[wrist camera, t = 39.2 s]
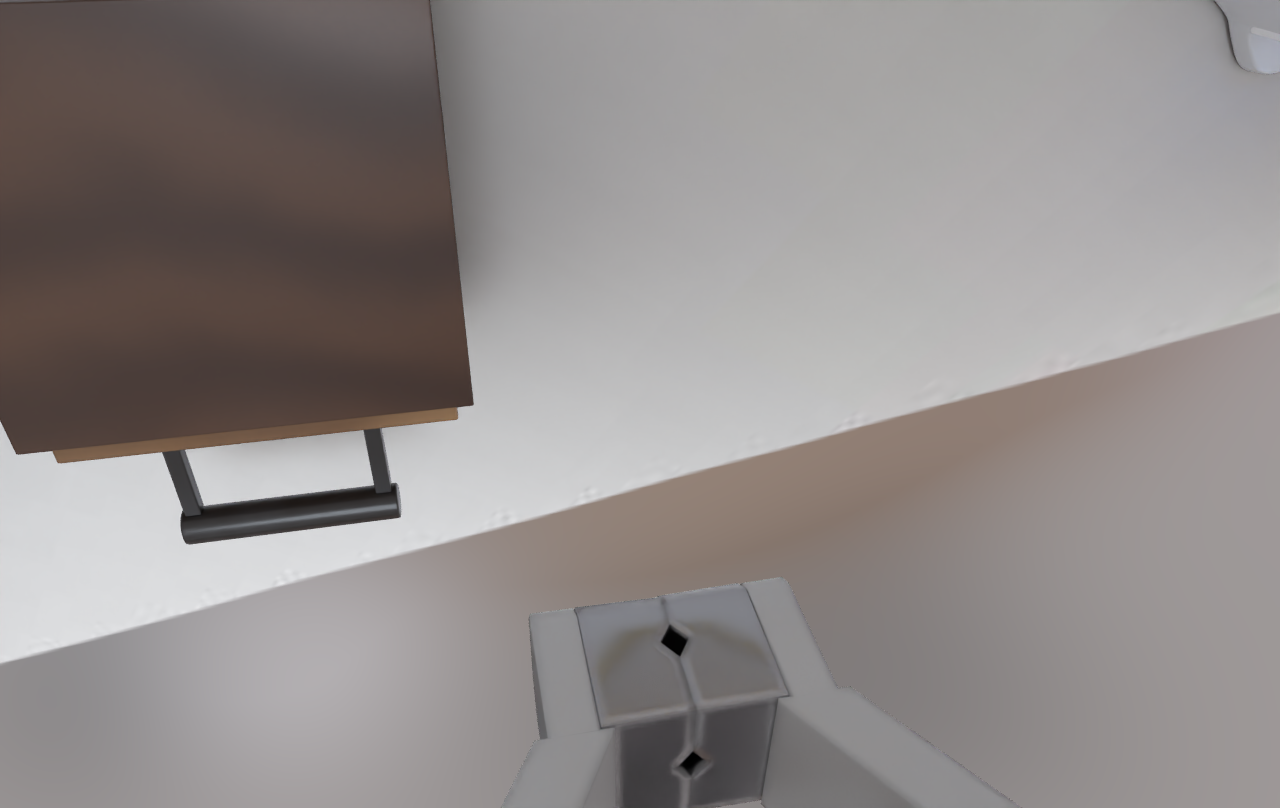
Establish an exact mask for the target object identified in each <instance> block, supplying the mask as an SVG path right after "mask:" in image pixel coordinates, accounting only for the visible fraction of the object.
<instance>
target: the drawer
mask: <svg viewBox="0 0 1280 808" xmlns="http://www.w3.org/2000/svg"><path fill="white" fill-rule="evenodd" d="M456 419H458V411H457V407H454V408H445V409H436V410H426V411H417V412H408V413H398V414H389V415H380V416H371V417H361V418H352V419H343V420H334V421H324V422H315V423H306V424H297V425H287V426H278V427H269V428H260V429H250V430H241V431H232V432H223V433H213V434H204V435H195V436H185V437H176V438H167V439H158V440H148V441H139V442H130V443H121V444H111V445H102V446H93V447H84V448H74V449H65V450H56V451H53V454H54V456H55V458H56V460H57V462H58V463H68V462H77V461H86V460H95V459H104V458H113V457H122V456H131V455H140V454H149V453H158V452H162V453H163V456H164V458H165V461H166V464H167V467H168V469H169V472H170V475H171V478H172V481H173V483H174V486H175V489H176V492H177V494H178V497H179V500H180V503H181V506H182V508H183V511H182V514H181V533H182V536H183V539H184V541H185V543H186V544H197V543H205V542H213V541H221V540H229V539H236V538H244V537H252V536H260V535H268V534H276V533H284V532H291V531H299V530H307V529H315V528H323V527H331V526H339V525H346V524H354V523H362V522H370V521H378V520H386V519H394V518H399V517H401V500H400V492H399V487H398V484H397V483H391V477H390V471H389V466H388V460H387V455H386V450H385V444H384V439H383V433H382V428H385V427H394V426H403V425H412V424H421V423H430V422H439V421H448V420H456ZM358 430H364V435H365V440H366V446H367V451H368V456H369V461H370V466H371V471H372V476H373V481H374V485H373V486H365V487H357V488H348V489H340V490H332V491H323V492H315V493H307V494H299V495H290V496H282V497H274V498H265V499H257V500H249V501H241V502H232V503H224V504H216V505H207V506H203V505H204V504H203V502H202V499H201V496H200V493H199V490H198V487H197V484H196V481H195V478H194V475H193V472H192V469H191V466H190V464H189V461H188V458H187V455H186V452H185V450H186V449H195V448H204V447H213V446H222V445H231V444H240V443H249V442H258V441H267V440H276V439H285V438H294V437H303V436H312V435H322V434H331V433H340V432H349V431H358Z"/></svg>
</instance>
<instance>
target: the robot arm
mask: <svg viewBox="0 0 1280 808" xmlns="http://www.w3.org/2000/svg"><path fill="white" fill-rule="evenodd" d="M1214 1H1215V2H1216V3H1217V4H1218V5H1219V6H1220V8H1221V9H1222V10H1223V12H1224V13H1225V15H1226V17H1227V19H1228V24H1229V30H1230V36H1231V42H1232V47H1233V51H1234V55H1235V57H1236V60H1237V62H1238V64H1239V65H1240V66H1241V67H1242V68H1243V69H1245V70H1248V71H1252V72H1256V73H1260V74H1274V73H1278V72H1280V0H1214ZM529 627H530V641H531V655H532V669H533V681H534V692H535V702H536V713H537V722H538V729H539V736H540V740H538V741H534V743H533V745H532V747H531V749H530V751H529V753H528V755H527V757H526V759H525V761H524V763H523V765H522V767H521V769H520V771H519V773H518V775H517V777H516V779H515V781H514V783H513V784H512V786H511V788H510V790H509V792H508V794H507V796H506V798H505V800H504V802H503V804H502V806H501V808H715V807H721V806H727V805H733V804H739V803H746V802H752V801H758V800H761V804H762V805H763V806H764V807H765V808H1022V807H1020V806H1019V805H1017V804H1016V803H1015V802H1013V801H1012V800H1010V799H1009V798H1007V797H1006V796H1005V795H1003V794H1002V793H1000V792H999V791H998V790H996V789H995V788H993V787H992V786H991V785H989V784H988V783H986V782H985V781H983V780H982V779H981V778H979V777H977V776H976V775H975V774H974V773H972V772H971V771H969V770H968V769H967V768H965V767H964V766H962V765H961V764H959V763H958V762H956V761H955V760H954V759H952V758H951V757H950V756H948V755H947V754H945V753H944V752H942V751H941V750H940V749H938V748H937V747H935V746H934V745H933V744H931V743H930V742H928V741H927V740H925V739H924V738H923V737H921V736H920V735H918V734H917V733H916V732H914V731H913V730H911V729H910V728H908V727H907V726H905V725H904V724H903V723H901V722H900V721H898V720H897V719H895V718H894V717H893V716H891V715H890V714H889V713H887V712H886V711H884V710H883V709H882V708H880V707H879V706H877V705H876V704H875V703H873V702H872V701H870V700H869V699H867V698H866V697H865V696H863V695H862V694H860V693H859V692H858V691H856V690H855V689H853V688H852V687H844V688H838V687H837V685H836V682H835V680H834V678H833V676H832V674H831V672H830V670H829V668H828V665H827V663H826V661H825V659H824V657H823V655H822V653H821V651H820V648H819V646H818V644H817V642H816V640H815V638H814V636H813V634H812V632H811V629H810V627H809V625H808V623H807V621H806V619H805V617H804V614H803V613H802V610H801V608H800V606H799V604H798V602H797V599H796V597H795V595H794V593H793V591H792V589H791V587H790V585H789V583H788V582H787V581H786V580H785V579H784V578H782V577H780V578H773V579H766V580H760V581H753V582H746V583H742V584H740V585H739V584H737V583H736V584H730V585H724V586H718V587H711V588H705V589H699V590H693V591H687V592H681V593H674V594H668V595H662V596H658V597H657V598H649V599H641V600H633V601H624V602H616V603H609V604H601V605H592V606H585V607H576V608H575V609H574V610H573V609H564V610H557V611H549V612H541V613H533V614H530V616H529Z"/></svg>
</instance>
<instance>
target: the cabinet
mask: <svg viewBox="0 0 1280 808" xmlns="http://www.w3.org/2000/svg"><path fill="white" fill-rule="evenodd" d="M473 404H474V403H473V393H472V384H471V375H470V366H469V356H468V347H467V338H466V329H465V319H464V310H463V301H462V292H461V282H460V273H459V264H458V255H457V245H456V236H455V227H454V218H453V208H452V199H451V190H450V181H449V171H448V162H447V153H446V144H445V134H444V125H443V116H442V107H441V97H440V88H439V79H438V70H437V60H436V51H435V42H434V33H433V23H432V14H431V5H430V0H0V421H1V423H2V425H3V427H4V429H5V431H6V434H7V436H8V438H9V440H10V442H11V444H12V446H13V448H14V450H15V452H16V454H18V455H19V454H28V453H37V452H47V451H56V450H65V449H74V448H84V447H93V446H102V445H111V444H121V443H130V442H139V441H148V440H158V439H167V438H176V437H185V436H195V435H204V434H213V433H223V432H232V431H241V430H250V429H260V428H269V427H278V426H287V425H297V424H306V423H315V422H324V421H334V420H343V419H352V418H361V417H371V416H380V415H389V414H398V413H408V412H417V411H426V410H436V409H445V408H454V407H463V406H472V405H473Z"/></svg>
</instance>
